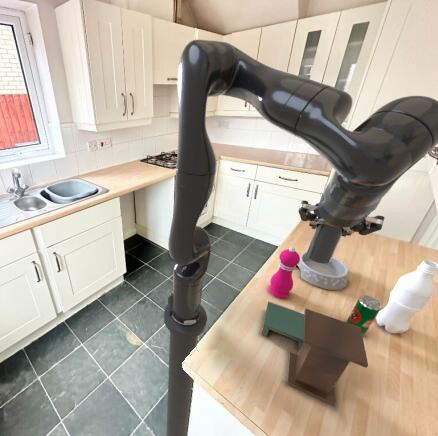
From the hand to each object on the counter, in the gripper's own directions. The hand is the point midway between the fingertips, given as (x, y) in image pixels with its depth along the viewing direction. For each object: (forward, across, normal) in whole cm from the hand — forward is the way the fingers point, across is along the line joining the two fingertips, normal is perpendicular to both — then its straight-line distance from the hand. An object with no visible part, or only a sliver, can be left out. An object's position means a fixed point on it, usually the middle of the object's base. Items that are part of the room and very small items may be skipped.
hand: (328, 228), depth 56 cm
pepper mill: (+38, +6, +15) cm, 42 cm away
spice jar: (+4, 0, +6) cm, 7 cm away
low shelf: (+27, +1, +26) cm, 38 cm away
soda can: (+36, -17, +17) cm, 43 cm away
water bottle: (+41, -25, +12) cm, 50 cm away
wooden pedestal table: (+19, -7, +34) cm, 40 cm away
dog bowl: (+53, -6, +1) cm, 53 cm away
